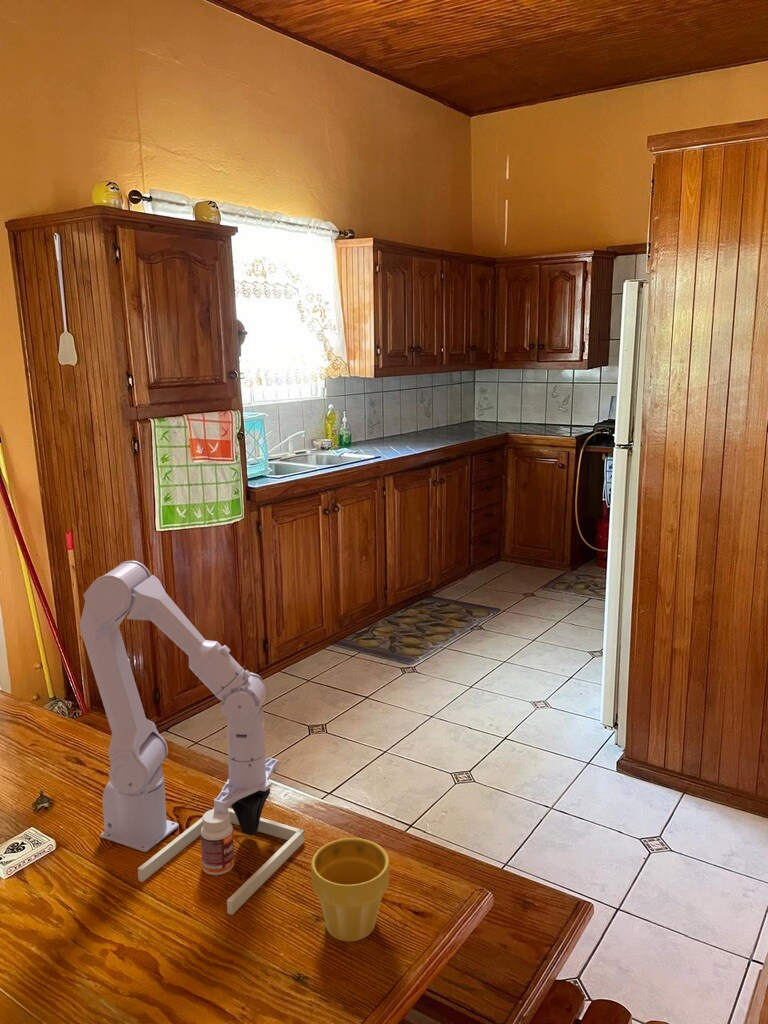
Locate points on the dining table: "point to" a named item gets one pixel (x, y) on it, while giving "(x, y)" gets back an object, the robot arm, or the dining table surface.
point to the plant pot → (350, 885)
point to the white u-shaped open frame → (257, 879)
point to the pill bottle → (217, 843)
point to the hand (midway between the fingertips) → (249, 832)
